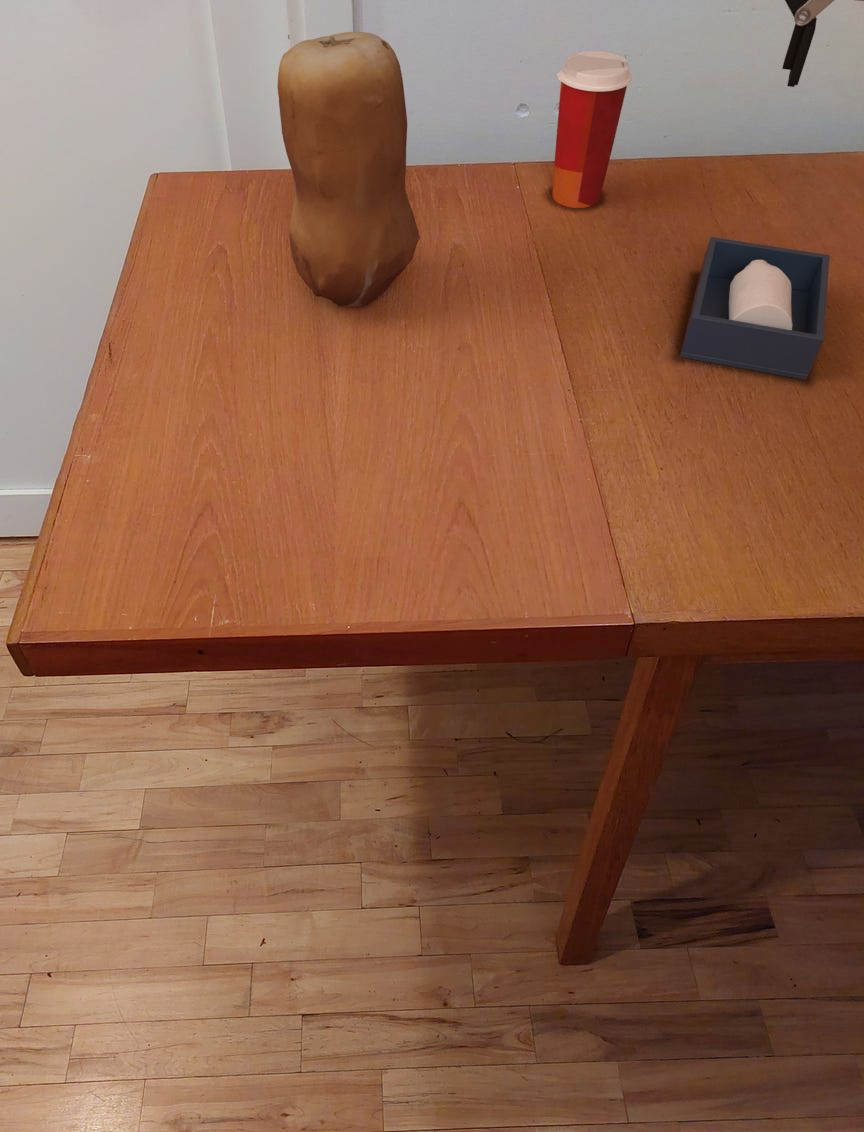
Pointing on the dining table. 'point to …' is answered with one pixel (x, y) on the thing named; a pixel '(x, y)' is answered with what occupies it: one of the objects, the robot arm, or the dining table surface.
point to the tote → (751, 342)
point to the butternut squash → (347, 165)
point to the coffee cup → (587, 124)
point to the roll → (761, 296)
